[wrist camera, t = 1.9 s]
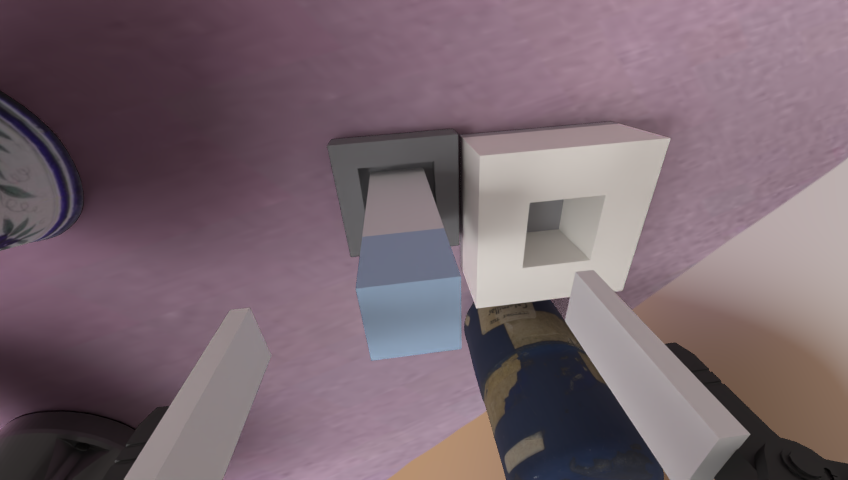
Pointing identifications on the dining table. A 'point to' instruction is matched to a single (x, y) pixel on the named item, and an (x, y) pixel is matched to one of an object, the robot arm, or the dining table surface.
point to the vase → (34, 179)
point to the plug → (407, 270)
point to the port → (553, 207)
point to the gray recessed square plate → (395, 153)
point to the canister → (550, 399)
